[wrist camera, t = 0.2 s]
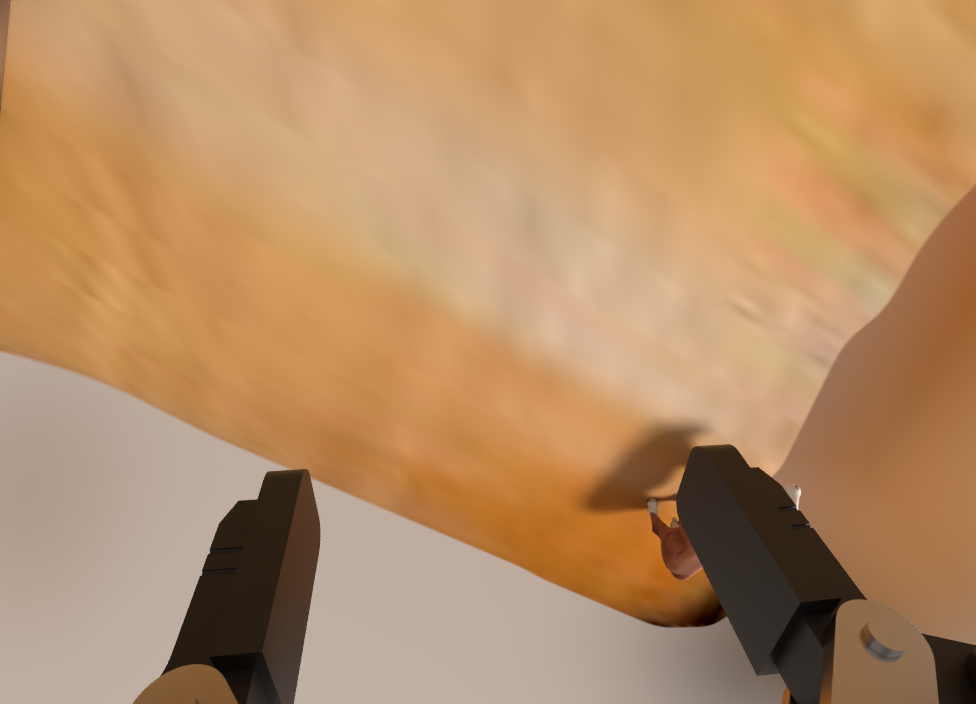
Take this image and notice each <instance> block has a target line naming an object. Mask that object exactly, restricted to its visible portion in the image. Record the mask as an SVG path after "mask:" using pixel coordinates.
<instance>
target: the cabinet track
mask: <svg viewBox="0 0 976 704" xmlns="http://www.w3.org/2000/svg"><path fill="white" fill-rule="evenodd" d="M9 9H10V0H0V109H1V98H2V87H3V76H4V65H5V54H6V43H7V31H8V20H9Z"/></svg>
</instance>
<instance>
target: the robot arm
mask: <svg viewBox="0 0 976 704" xmlns="http://www.w3.org/2000/svg"><path fill="white" fill-rule="evenodd" d="M676 505H677V513H678V517H679V520H680V523H681V525H682V527H683V529H684V531H685V533H686V535H687V537H688V539H689V541H690V543H691V545H692V547H693V549H694V551H695V553H696V555H697V557H698V559H699V561H700V563H701V565H702V567H703V569H704V571H705V573H706V575H707V577H708V579H709V581H710V583H711V585H712V587H713V589H714V591H715V593H716V595H717V597H718V599H719V601H720V603H721V605H722V607H723V609H724V611H725V613H726V615H727V617H728V619H729V621H730V623H731V624H732V626H733V628H734V631H735V633H736V635H737V637H738V639H739V641H740V642H741V645H742V646H743V649H744V651H745V652H746V654H747V657H748V659H749V660H750V662H751V664H752V666H753V668H754V670H755V672H756V674H757V676H759V675H768V674H777V673H780V674H781V676H782V678H783V680H784V682H785V684H786V685H787V687H786V689H785V691H784V693H783V697H782V704H976V645H972V644H967V643H962V642H957V641H953V640H949V639H944V638H939V637H935V636H930V635H926V634H922V633H920V631H918V629H917V628H916V627H915V626H914V625H913V624H911V623H910V622H909V621H908V620H907V619H906V618H904V617H903V616H902V615H900V614H899V613H897V612H896V611H894V610H892V609H891V608H888V607H886V606H884V605H882V604H879V603H877V602H873V601H869V600H867V599H866V598H865V597H864V595H863V594H862V593H861V592H860V590H859V589H858V588H857V586H856V585H855V584H854V582H853V581H852V580H851V578H850V577H849V576H848V574H847V573H846V571H845V570H844V569H843V567H842V566H841V565H840V563H839V562H838V561H837V559H836V558H835V557H834V556H833V554H832V553H831V551H830V550H829V549H828V547H827V546H826V545H825V543H824V542H823V541H822V539H821V538H820V537H819V535H818V534H817V533H816V531H815V530H814V529H813V528H810V524H809V522H808V521H807V519H806V518H805V517H804V515H803V514H802V512H801V511H800V510H797V506H796V504H795V503H794V502H793V500H792V499H791V498H790V496H789V495H788V494H787V492H786V491H785V490H784V488H783V487H782V486H781V485H780V484H779V483H778V482H776V481H775V480H774V479H773V478H771V477H770V476H769V475H768V474H766V473H765V472H764V471H762V470H761V469H760V468H758V467H757V468H750V467H749V465H748V464H747V463H746V461H745V460H744V458H743V457H742V455H741V454H740V453H739V451H738V450H737V449H736V448H735V447H734V446H732V445H730V444H727V445H711V446H696V447H694V448H693V449H692V450H691V453H690V455H689V459H688V462H687V465H686V468H685V471H684V474H683V478H682V481H681V484H680V487H679V490H678V493H677V499H676ZM319 548H320V521H319V516H318V511H317V506H316V501H315V497H314V492H313V488H312V483H311V478H310V474H309V471H308V470H307V469H301V470H285V471H270V472H267V473H266V475H265V478H264V480H263V483H262V487H261V490H260V493H259V496H258V500H244V501H238V502H237V503H236V504H235V506H234V507H233V508H232V509H231V510H230V511H229V513H228V514H227V515H226V516H225V517H224V519H223V520H222V521H221V522H220V523H219V526H218V528H217V531H216V534H215V536H214V539H213V542H212V545H211V548H210V554H208V556H207V559H206V561H205V564H204V567H203V569H202V576H200V578H199V580H198V583H197V586H196V589H195V591H194V595H193V597H192V600H191V603H190V605H189V608H188V611H187V614H186V616H185V619H184V622H183V624H182V627H181V630H180V633H179V636H178V638H177V641H176V644H175V646H174V649H173V652H172V655H171V657H170V660H169V662H168V664H167V666H166V668H165V670H164V671H163V673H162V675H161V676H160V677H159V678H158V679H156V680H155V681H154V682H152V683H151V684H150V685H149V686H148V687H147V688H146V689H144V690H143V692H142V693H141V694H140V695H139V696H138V697H137V699H136V700H135V701H134V703H133V704H294V698H295V692H296V686H297V680H298V674H299V668H300V662H301V656H302V651H303V645H304V638H305V633H306V626H307V621H308V615H309V609H310V603H311V597H312V591H313V585H314V579H315V573H316V567H317V561H318V555H319Z"/></svg>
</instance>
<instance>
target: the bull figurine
mask: <svg viewBox="0 0 976 704" xmlns="http://www.w3.org/2000/svg"><path fill="white" fill-rule="evenodd" d="M784 490H785V491H786V492H787V494H788V495H789V496H790V498H791V499H792V500H793V502H794V503H795V504H796V506H797V510H798V503H799V497H800V495H801V489H800V488H799V487H798V486H797V485H795V484H788V485H786V486H785V487H784ZM647 505H648V507H649V508H648V509H647V511H648V513H649V514H650V517H651V521H652V531H653V532H654V533H655V534H656V535H658V536H659V538H660V539H661V551H662V557H663V560H664V563H665V565H666V567H667V568H668V569H669V570H670V571H671V572H672V574H673V576H674V577H675V578H677V579H679V580H687V579H689V578H690V577H691V576H693V575H694V574H696V573H697V572H698V571H700V570H701V569H703V567H702V565H701V563H700V561H699V559H698V557H697V555H696V553H695V551H694V549H693V547H692V545H691V543H690V541H689V539H688V537H687V535H686V533H685V531H684V529H683V527H682V525H681V523H680V520H679V522H678V521H677V519H676V518H675V517H673V518H672V523H671V528H670V527H668V526H667V525H666V524H665V523H663V522H662V521H661V520H660V518H659V516H658V512H657V499H654V498H652V499H650V500H648V502H647Z"/></svg>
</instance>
